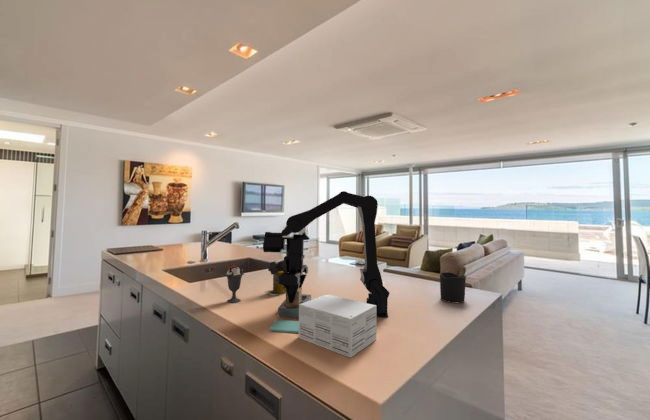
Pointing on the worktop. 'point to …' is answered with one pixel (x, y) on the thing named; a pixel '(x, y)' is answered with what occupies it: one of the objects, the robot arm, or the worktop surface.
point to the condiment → (277, 286)
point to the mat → (285, 326)
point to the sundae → (234, 281)
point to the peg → (297, 299)
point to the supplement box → (338, 324)
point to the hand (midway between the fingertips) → (293, 299)
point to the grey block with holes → (291, 308)
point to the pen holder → (452, 287)
